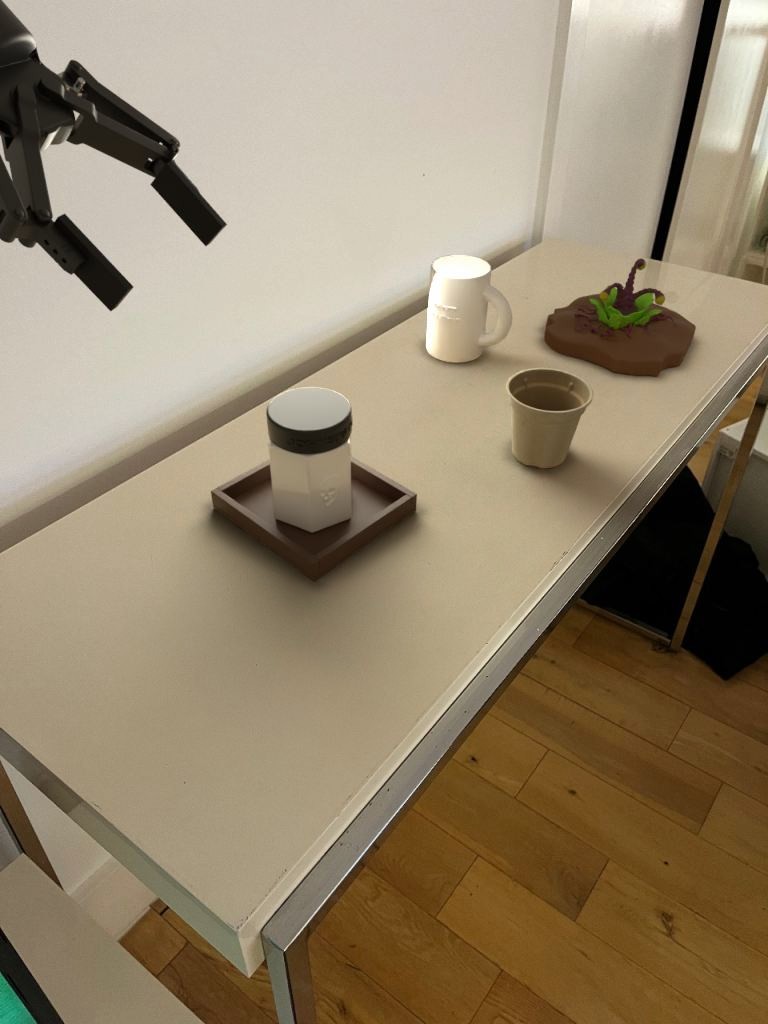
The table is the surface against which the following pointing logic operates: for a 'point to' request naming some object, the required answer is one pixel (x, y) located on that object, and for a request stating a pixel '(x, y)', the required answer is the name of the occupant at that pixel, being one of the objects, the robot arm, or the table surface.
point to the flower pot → (545, 414)
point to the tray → (321, 551)
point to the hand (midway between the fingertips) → (173, 265)
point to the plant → (621, 329)
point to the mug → (463, 309)
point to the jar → (310, 457)
